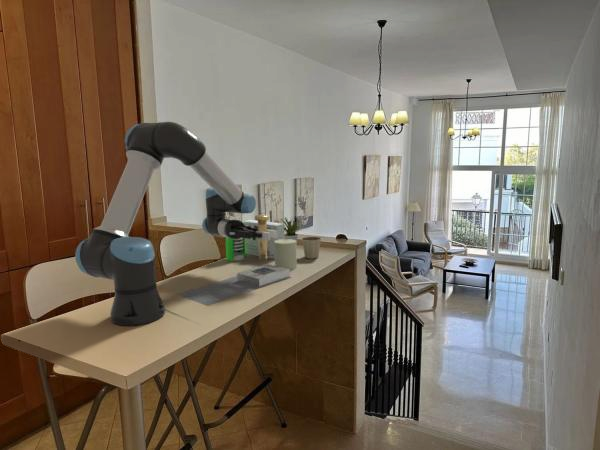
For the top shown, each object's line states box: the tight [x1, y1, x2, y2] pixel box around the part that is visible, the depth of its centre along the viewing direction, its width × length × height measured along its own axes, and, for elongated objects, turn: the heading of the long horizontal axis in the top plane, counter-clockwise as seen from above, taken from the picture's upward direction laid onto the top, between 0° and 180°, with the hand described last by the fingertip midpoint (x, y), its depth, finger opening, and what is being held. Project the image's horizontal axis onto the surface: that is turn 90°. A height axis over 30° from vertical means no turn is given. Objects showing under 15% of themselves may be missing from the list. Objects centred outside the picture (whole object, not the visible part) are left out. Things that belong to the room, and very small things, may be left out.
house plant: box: [279, 215, 303, 247], centre depth 219 cm, size 14×14×16 cm
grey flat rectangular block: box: [236, 263, 291, 287], centre depth 165 cm, size 16×12×3 cm
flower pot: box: [300, 236, 322, 259], centre depth 198 cm, size 9×9×9 cm
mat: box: [176, 275, 293, 306], centre depth 158 cm, size 39×18×1 cm, turn 138°
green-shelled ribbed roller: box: [225, 237, 246, 262], centre depth 198 cm, size 9×8×18 cm
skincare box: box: [242, 219, 285, 260], centre depth 202 cm, size 21×5×16 cm, turn 53°
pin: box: [254, 214, 270, 261], centre depth 163 cm, size 5×5×16 cm
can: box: [274, 238, 298, 271], centre depth 180 cm, size 9×9×12 cm
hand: (273, 235), depth 159 cm, fingers closed on pin, 3 cm apart
